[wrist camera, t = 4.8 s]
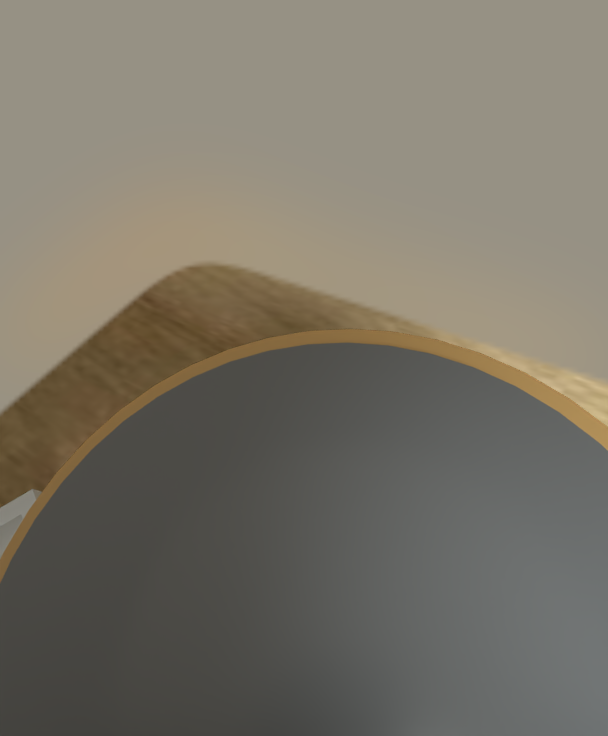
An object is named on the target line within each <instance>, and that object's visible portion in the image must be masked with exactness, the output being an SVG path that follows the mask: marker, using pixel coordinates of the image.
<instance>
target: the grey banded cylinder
mask: <svg viewBox="0 0 608 736" xmlns="http://www.w3.org/2000/svg"><path fill="white" fill-rule="evenodd" d="M0 736H608V427H607V426H606V425H604V424H603V423H602V422H600V421H599V420H598V419H596V418H595V417H594V416H592V415H591V414H590V413H588V412H587V411H586V410H584V409H583V408H582V407H580V406H579V405H578V404H576V403H575V402H574V401H572V400H571V399H569V398H568V397H566V396H564V395H563V394H561V393H559V392H557V391H556V390H554V389H552V388H551V387H549V386H547V385H545V384H544V383H542V382H540V381H539V380H537V379H535V378H533V377H532V376H530V375H528V374H527V373H525V372H522V371H520V370H518V369H516V368H513V367H511V366H509V365H506V364H504V363H502V362H500V361H497V360H495V359H493V358H491V357H488V356H486V355H484V354H481V353H478V352H475V351H472V350H469V349H465V348H462V347H459V346H456V345H453V344H449V343H446V342H443V341H440V340H436V339H430V338H425V337H420V336H414V335H409V334H404V333H398V332H392V331H377V330H362V329H336V330H316V331H305V332H299V333H293V334H287V335H281V336H275V337H269V338H265V339H262V340H259V341H255V342H252V343H248V344H245V345H241V346H238V347H234V348H231V349H228V350H226V351H223V352H221V353H218V354H216V355H214V356H211V357H209V358H206V359H204V360H202V361H199V362H197V363H194V364H192V365H190V366H188V367H186V368H185V369H183V370H181V371H179V372H177V373H176V374H174V375H172V376H170V377H168V378H167V379H165V380H163V381H161V382H159V383H158V384H156V385H154V386H153V387H151V388H150V389H149V390H147V391H146V392H144V393H143V394H142V395H140V396H139V397H137V398H136V399H135V400H133V401H132V402H130V403H129V404H128V405H126V406H125V407H123V408H122V409H120V410H119V411H118V412H117V413H116V414H115V415H114V416H112V417H111V418H110V419H109V420H108V421H107V422H106V423H105V424H103V425H102V426H101V427H100V428H99V429H98V430H97V431H96V432H94V433H93V434H92V435H91V436H90V437H89V438H88V439H87V440H86V441H85V442H84V443H83V444H82V445H81V446H80V447H79V448H78V450H77V451H76V452H75V453H74V454H73V455H72V456H71V457H70V458H69V459H68V460H67V462H66V463H65V464H64V465H63V466H62V467H61V468H60V469H59V470H58V471H57V473H56V474H55V475H54V477H53V478H52V479H51V481H50V482H49V483H48V485H47V486H46V487H45V489H44V490H43V491H42V493H41V494H40V495H39V497H38V498H37V500H36V501H35V502H34V504H33V505H32V506H31V508H30V509H29V510H28V512H27V514H26V515H25V517H24V519H23V520H22V522H21V524H20V525H19V527H18V529H17V530H16V532H15V534H14V536H13V537H12V539H11V541H10V542H9V544H8V546H7V547H6V549H5V551H4V552H3V554H2V557H1V559H0Z"/></svg>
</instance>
